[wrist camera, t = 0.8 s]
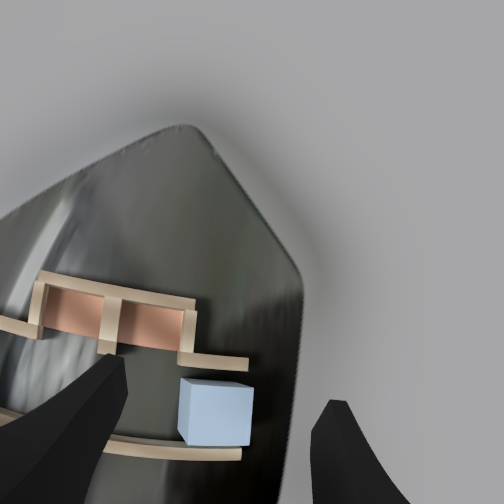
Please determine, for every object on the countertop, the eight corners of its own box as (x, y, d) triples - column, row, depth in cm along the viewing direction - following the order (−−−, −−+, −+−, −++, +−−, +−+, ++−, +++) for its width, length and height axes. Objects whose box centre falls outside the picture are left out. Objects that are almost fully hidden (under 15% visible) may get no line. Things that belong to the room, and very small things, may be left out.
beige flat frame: (233, 453, 26) (244, 463, 23) (-22, 410, 18) (-35, 416, 15) (244, 309, 30) (256, 306, 28) (-7, 262, 22) (-19, 253, 19)
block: (229, 431, 27) (249, 445, 22) (177, 429, 25) (187, 445, 20) (233, 381, 28) (253, 387, 24) (180, 377, 27) (191, 384, 22)
